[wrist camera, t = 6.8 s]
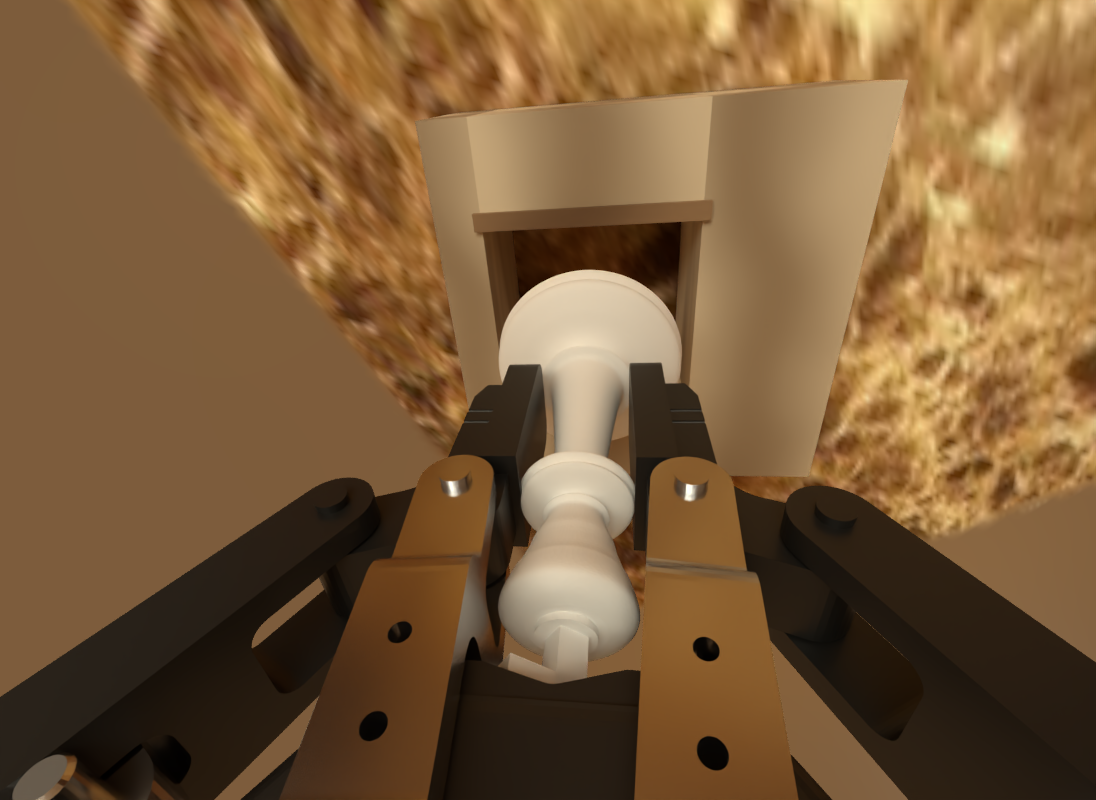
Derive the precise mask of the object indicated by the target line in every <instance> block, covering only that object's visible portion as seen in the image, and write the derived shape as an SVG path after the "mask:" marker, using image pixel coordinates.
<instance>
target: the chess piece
mask: <svg viewBox="0 0 1096 800" xmlns="http://www.w3.org/2000/svg"><path fill="white" fill-rule="evenodd" d="M681 360H682V344H681V338H680V334H679V330H678V327H677V324H676V322H675V320H674V318H673V316H672V314H671V313H670V311H669V309H668V308H667V307H666V305H665V304H664V303H663V302H662V301H661V299H660V298H659V297H658V296H657V295H655V294H654V293H653V292H652V291H651V290H650V289H648V288H647V287H645V286H644V285H642V284H641V283H639V282H637V281H635V280H633V279H631V278H629V277H626V276H623V275H620V274H617V273H613V272H608V271H602V270H578V271H572V272H567V273H563V274H559V275H556V276H554V277H551V278H549V279H547V280H545V281H543V282H541V283H539V284H538V285H536V286H535V287H533V288H532V289H531V290H529V291H528V292H527V293H526V294H525V295H524V296H523V297H522V298H521V299H520V300H519V301H518V302H517V303H516V305H515V306H514V307H513V309H512V310H511V312H510V314H509V316H508V317H507V319H506V322H505V324H504V327H503V330H502V334H501V339H500V349H499V371H500V376H501V380H502V383H503V381H504V378H505V375H506V372H507V369H508V367H509V365H515V364H540V365H541V368H542V375H543V386H544V397H545V408H546V420H547V433H549V434H552V435H554V454H551V455H548V456H546V457H544V458H542V459H540V460H538V461H537V462H536V463H534V464H533V465H532V466H531V467H530V468H529V469H528V470H527V471H526V473H525V474H524V476H523V478H522V480H521V489H522V494H521V508H522V512H523V514H524V516H525V518H526V520H527V522H528V523H529V524H530V525H531V527H532V528H533V529H535V530H536V531H537V532H536V534H535V536H534V538H533V540H532V542H531V544H530V546H529V548H528V549H527V551H526V553H525V554H524V556H523V557H522V558H521V559H520V560H519V562H518V563H517V564H516V566H515V567H514V568H513V570H512V572H511V573H510V575H509V577H508V578H507V580H506V582H505V584H504V586H503V588H502V590H501V593H500V596H499V601H498V612H499V617H500V620H501V622H502V624H503V626H504V628H505V629H506V631H507V632H508V633H509V634H510V635H511V637H512V638H513V639H514V640H515V641H516V642H518V643H519V644H520V645H522V646H523V647H524V648H526V649H528V650H529V651H531V652H533V653H536V654H538V655H540V656H543V661H542V665H539V664H537V663H534V662H532V661H529V660H527V659H524V658H522V657H520V656H517V655H515V654H512V653H510V654H509V655H508V656H507V657H506V658H505V659H504V660H503V661H502V662H501V663H500V664H499V665H498V667H501V668H504V669H507V670H510V671H513V672H515V673H518V674H521V675H524V676H527V677H530V678H533V679H536V680H539V681H541V682H545V683H549V684H558V683H563V682H569V681H574V680H579V679H584V678H587V665H588V661H594V660H598V659H602V658H605V657H608V656H610V655H612V654H614V653H616V652H618V651H619V650H621V649H622V648H624V647H625V646H626V645H627V644H628V643H629V642H630V641H631V640H632V639H633V637H634V636H635V634H636V632H637V630H638V627H639V622H640V609H639V604H638V601H637V597H636V595H635V592H634V589H633V587H632V584H631V582H630V579H629V577H628V575H627V573H626V572H625V570H624V569H623V567H622V565H621V562H620V560H619V558H618V555H617V552H616V548H615V544H614V542H613V540H612V539H614V538H616V537H617V536H619V535H620V534H621V533H622V532H623V531H624V530H625V529H626V528H627V527H628V525H629V524H630V522H631V520H632V517H633V514H634V511H635V485H634V482H633V480H632V479H631V477H630V476H629V474H628V473H627V472H626V471H625V470H624V469H623V468H622V467H621V466H620V465H618V464H617V463H615V462H614V461H612V460H611V459H609V458H608V455H609V449H610V445H611V440H615V439H619V438H622V437H625V436H628V435H629V364H630V363H657V362H661V363H662V368H663V373H664V379H665V383H678V382H679V378H680V373H681Z"/></svg>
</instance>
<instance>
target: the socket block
mask: <svg viewBox="0 0 1096 800" xmlns="http://www.w3.org/2000/svg"><path fill="white" fill-rule="evenodd" d="M907 82H908V80H852V81H826V82H815V83H803V84H791V85H779V86H768V87H756V88H744V89H732V90H721V91H709V92H697V93H685V94H673V95H662V96H650V97H638V98H626V99H615V100H603V101H591V102H579V103H568V104H556V105H544V106H532V107H520V108H509V109H497V110H485V111H473V112H462V113H455V114H450V115H444V116H439V117H434V118H429V119H424V120H418V121H415V124H416V129H417V135H418V140H419V145H420V151H421V156H422V162H423V167H424V172H425V178H426V183H427V188H428V194H429V199H430V204H431V210H432V215H433V220H434V226H435V231H436V236H437V242H438V247H439V252H440V258H441V263H442V268H443V274H444V279H445V284H446V290H447V295H448V300H449V306H450V311H451V316H452V322H453V327H454V332H455V338H456V343H457V348H458V354H459V359H460V364H461V370H462V375H463V380H464V386H465V391H466V396H467V402H468V407H469V408H470V406H471V403H472V401H473V399H474V397H475V396H476V395H477V394H478V393H479V392H480V391H482V390H483V389H484V388H485V387H486V386H487V385H502V380H501V376H500V371H499V349H500V339H501V334H502V330H503V327H504V324H505V322H506V319H507V317H508V316H509V314H510V312H511V310H512V309H513V307H514V306H515V305H516V303H517V302H518V301H519V300H520V295H519V286H518V277H517V268H516V259H515V250H514V241H513V232H512V231H514V230H533V229H552V228H571V227H590V226H609V225H628V224H647V223H666V222H681V238H680V255H679V271H678V288H677V305H676V324H677V327H678V330H679V334H680V338H681V344H682V360H681V373H680V378H679V382H678V383H685V384H686V385H688V386H689V387H690V388H691V389H692V390H693V391H694V392H695V393H696V394H697V395H698V397H699V401H700V405H701V408H702V412H703V415H704V419H705V423H706V426H707V430H708V433H709V437H710V441H711V444H712V448H713V451H714V455H715V459H716V462H717V465H718V466H720V467H721V468H723V469H724V470H725V471H726V472H727V473H728V474H729V475H730V476H777V477H809V473H810V469H811V465H812V461H813V457H814V453H815V449H816V445H817V441H818V437H819V433H820V429H821V425H822V421H823V417H824V413H825V409H826V405H827V401H828V397H829V394H830V390H831V386H832V382H833V378H834V374H835V370H836V366H837V362H838V358H839V354H840V350H841V346H842V342H843V338H844V334H845V330H846V326H847V322H848V318H849V314H850V310H851V306H852V302H853V298H854V294H855V290H856V286H857V282H858V278H859V274H860V270H861V266H862V262H863V258H864V254H865V250H866V246H867V242H868V238H869V234H870V230H871V226H872V222H873V218H874V214H875V210H876V206H877V202H878V198H879V194H880V190H881V186H882V182H883V178H884V174H885V170H886V166H887V162H888V158H889V154H890V150H891V146H892V142H893V138H894V134H895V130H896V126H897V122H898V118H899V114H900V110H901V106H902V102H903V98H904V94H905V90H906V86H907ZM551 454H554V435H552V434H549V433H547V438H546V447H545V452H544V457H546V456H548V455H551ZM608 458H609V459H611V460H612V461H614V462H615V463H617V464H618V465H620V466H621V467H622V468H623V469H624V470H625V471H626V472H627V473H628V474H629V475H630V458H629V435H628V436H625V437H622V438H619V439H615V440H611V445H610V449H609V455H608Z"/></svg>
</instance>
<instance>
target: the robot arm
mask: <svg viewBox="0 0 1096 800" xmlns="http://www.w3.org/2000/svg"><path fill="white" fill-rule="evenodd" d="M546 438H547V420H546V408H545V397H544V386H543V375H542V368H541V365H540V364H515V365H509V367H508V369H507V372H506V375H505V378H504V381H503V383H502V385H487V386H486V387H485V388H484V389H483V390H482V391H480V392H479V393H478V394H477V395H476V396H475V397H474V399H473V401H472V403H471V406H470V408H469V412H468V413H467V415H466V417H465V420H464V423H463V424H462V427H461V429H460V431H459V433H458V436H457V438H456V440H455V443H454V445H453V447H452V450H451V452H450V454H449V456H448V457H447V458H444V459H442V460H439V461H437V462H435V463H434V464H432V465H431V466H429V467H428V468H427V469H426V470H425V471H424V472H423V473H422V475H421V476H420V478H419V480H418V483H417V486H416V487H415V488H412V489H409V490H405V491H401V492H396V493H392V494H387V495H383V496H377V497H375V495H374V492H373V489H372V487H371V486H370V485H369V483H367V482H366V481H364V480H361V479H358V478H340V479H335V480H331V481H328V482H325V483H323V484H320V485H318V486H316V487H315V488H313V489H311V490H310V491H308V492H307V493H305V494H304V495H302V496H301V497H299V498H298V499H296V500H295V501H293V502H292V503H290V504H289V505H287V506H286V507H284V508H283V509H281V510H280V511H278V512H277V513H275V514H274V515H272V516H271V517H269V518H268V519H266V520H265V521H263V522H262V523H261V524H259V525H257V526H256V527H254V528H253V529H251V530H250V531H248V532H247V533H245V534H244V535H242V536H241V537H239V538H238V539H237V540H235V541H233V542H232V543H230V544H229V545H227V546H226V547H224V548H223V549H221V550H220V551H218V552H217V553H215V554H214V555H212V556H211V557H209V558H208V559H206V560H205V561H203V562H202V563H200V564H199V565H197V566H196V567H194V568H193V569H191V570H190V571H188V572H187V573H185V574H184V575H182V576H181V577H179V578H178V579H176V580H175V581H173V582H172V583H170V584H169V585H167V586H166V587H164V588H163V589H161V590H160V591H158V592H157V593H155V594H154V595H152V596H151V597H149V598H148V599H146V600H145V601H143V602H142V603H140V604H139V605H137V606H136V607H134V608H133V609H132V610H130V611H129V612H127V613H125V614H124V615H122V616H121V617H119V618H118V619H116V620H115V621H113V622H112V623H110V624H109V625H108V626H106V627H104V628H103V629H101V630H100V631H98V632H97V633H95V634H94V635H93V636H91V637H89V638H88V639H86V640H85V641H83V642H82V643H80V644H79V645H77V646H76V647H75V648H73V649H72V650H70V651H68V652H67V653H66V654H64V655H62V656H61V657H60V658H58V659H57V660H55V661H53V662H52V663H51V664H49V665H47V666H46V667H45V668H43V669H41V670H40V671H38V672H37V673H35V674H34V675H32V676H31V677H30V678H28V679H26V680H25V681H23V682H22V683H20V684H19V685H17V686H16V687H15V688H13V689H12V690H10V691H9V692H7V693H6V694H4V695H3V696H1V697H0V800H214V799H215V798H216V797H217V796H218V795H219V794H220V793H221V792H222V791H223V790H224V789H225V788H226V787H227V786H228V785H229V784H230V783H231V782H232V781H233V780H234V779H235V778H236V777H237V776H238V775H240V773H242V772H243V771H244V769H246V767H248V766H249V765H250V764H251V763H252V761H254V759H256V758H257V756H259V755H260V753H262V752H263V751H264V750H265V749H266V748H267V747H268V746H269V745H270V744H271V743H272V742H273V741H274V740H275V739H276V738H277V737H278V736H279V735H280V734H281V733H282V732H283V731H284V730H285V729H286V728H287V727H288V726H289V724H291V723H292V722H293V721H294V720H295V719H296V718H297V717H298V716H299V715H300V714H301V713H302V712H303V711H304V710H305V709H306V708H307V707H308V706H309V705H310V704H311V703H312V702H313V701H314V700H315V699H316V698H317V697H318V696H319V698H318V700H317V703H316V705H315V708H314V710H313V713H312V716H311V719H310V721H309V723H308V726H307V729H306V731H305V734H304V736H303V739H302V741H301V744H300V747H299V749H298V750H296V751H295V752H294V753H293V754H292V755H291V756H290V757H288V758H287V759H286V760H285V761H284V762H283V763H282V764H281V765H279V766H278V767H277V768H276V769H275V770H274V771H273V772H272V773H270V775H268V776H267V777H266V778H265V779H263V780H262V782H260V783H259V784H258V785H257V786H256V787H254V788H253V789H252V790H251V791H250V792H249V793H248V794H246V795H245V796H244V797H243V798H242V799H241V800H832V799H831V798H830V797H829V796H828V795H827V794H826V793H825V791H824V790H823V789H822V788H821V787H820V786H819V785H818V784H817V783H816V781H815V780H814V779H813V778H812V777H811V776H810V775H809V774H808V772H806V770H805V769H804V768H803V767H802V766H801V765H800V764H799V763H798V761H796V759H795V758H794V757H793V756H792V755H791V754H790V749H789V743H788V737H787V732H786V726H785V721H784V716H783V709H782V704H781V698H780V692H779V687H778V681H777V676H776V670H775V665H774V659H773V653H772V648H771V642H770V640H771V641H772V643H773V644H774V645H775V646H776V647H777V648H778V650H779V651H780V652H781V653H782V654H783V655H784V657H785V658H786V659H787V660H788V661H789V662H790V663H791V665H792V666H793V667H794V668H795V669H796V670H797V672H798V673H799V674H800V675H801V676H802V677H803V678H804V680H805V681H806V682H807V683H808V684H809V685H810V686H811V688H812V689H813V690H814V691H815V692H816V694H817V695H818V696H819V697H820V698H821V699H822V700H823V702H824V703H825V704H826V705H827V706H828V707H829V709H830V710H831V711H832V712H833V713H834V714H835V715H836V717H837V718H838V719H839V720H840V721H841V722H842V724H843V725H844V726H845V727H846V728H847V729H848V730H849V732H850V733H851V734H852V735H853V736H854V737H855V738H856V740H857V741H858V742H859V743H860V744H861V745H862V746H863V748H864V749H865V750H866V751H867V752H868V753H869V754H870V756H871V757H872V758H873V759H874V760H875V762H876V763H877V764H878V765H879V766H880V767H881V769H882V770H883V771H884V772H885V773H886V774H887V775H888V777H889V778H890V779H891V780H892V781H893V782H894V783H895V785H896V786H897V787H898V788H899V789H900V790H901V792H902V793H903V794H904V795H905V796H906V797H907V799H908V800H1096V662H1094V661H1093V660H1091V659H1090V658H1089V657H1087V656H1086V655H1084V654H1083V653H1082V652H1080V651H1079V650H1077V649H1076V648H1075V647H1073V646H1072V645H1070V644H1069V643H1067V642H1066V641H1065V640H1063V639H1062V638H1060V637H1059V636H1057V635H1056V634H1055V633H1053V632H1052V631H1050V630H1049V629H1048V628H1046V627H1045V626H1043V625H1042V624H1040V623H1039V622H1038V621H1036V620H1034V619H1033V618H1032V617H1031V616H1029V615H1028V614H1026V613H1025V612H1023V611H1022V610H1021V609H1019V608H1018V607H1016V606H1015V605H1013V604H1012V603H1011V602H1009V601H1008V600H1006V599H1005V598H1004V597H1002V596H1001V595H999V594H998V593H996V592H995V591H994V590H992V589H991V588H989V587H988V586H986V585H985V584H984V583H982V582H981V581H979V580H978V579H977V578H975V577H974V576H972V575H971V574H969V573H968V572H967V571H965V570H964V569H962V568H961V567H960V566H958V565H957V564H955V563H954V562H952V561H951V560H950V559H948V558H947V557H945V556H944V555H942V554H941V553H940V552H938V551H937V550H935V549H934V548H933V547H931V546H930V545H928V544H927V543H926V542H924V541H923V540H921V539H920V538H918V537H917V536H916V535H914V534H913V533H911V532H910V531H909V530H907V529H906V528H904V527H903V526H901V525H900V524H899V523H897V522H896V521H894V520H893V519H891V518H890V517H889V516H887V515H886V514H884V513H883V512H882V511H880V510H879V509H877V508H876V507H874V506H873V505H872V504H870V503H869V502H867V501H866V500H864V499H863V498H861V497H859V496H857V495H855V494H853V493H850V492H848V491H845V490H842V489H838V488H834V487H829V486H809V487H804V488H801V489H798V490H796V491H795V492H793V493H792V494H791V495H790V496H789V498H788V499H787V502H786V503H782V502H778V501H774V500H770V499H765V498H761V497H758V496H754V495H751V494H749V493H746V492H744V491H742V490H740V489H738V488H737V487H735V486H734V485H733V481H732V479H731V477H730V475H729V474H728V473H727V472H726V471H725V470H724V469H723V468H721V467H720V466H718V465H717V462H716V459H715V455H714V451H713V448H712V444H711V441H710V437H709V433H708V430H707V426H706V423H705V419H704V415H703V412H702V408H701V405H700V401H699V397H698V395H697V394H696V393H695V392H694V391H693V390H692V389H691V388H690V387H689V386H688V385H686V384H685V383H665V379H664V373H663V368H662V363H661V362H657V363H630V364H629V458H630V477H631V479H632V480H633V482H634V485H635V511H634V514H633V517H632V520H633V540H634V550H643V551H646V574H645V594H644V614H643V635H642V655H641V671H635V670H624V671H619V672H614V673H609V674H604V675H599V676H594V677H589V678H584V679H579V680H574V681H569V682H563V683H558V684H549V683H545V682H541V681H539V680H536V679H533V678H530V677H527V676H524V675H521V674H518V673H515V672H513V671H510V670H507V669H504V668H501V667H498V665H499V664H500V663H501V662H502V661H503V653H504V642H505V630H506V629H505V628H504V626H503V624H502V622H501V620H500V617H499V612H498V601H499V596H500V593H501V590H502V588H503V586H504V584H505V582H506V580H507V578H508V577H509V575H510V569H509V563H510V558H511V554H512V549H513V546H523V547H528V542H529V536H530V531H531V525H530V524H529V523H528V522H527V520H526V518H525V516H524V514H523V512H522V508H521V494H522V489H521V480H522V478H523V476H524V474H525V473H526V471H527V470H528V469H529V468H530V467H531V466H532V465H533V464H534V463H536V462H537V461H538V460H540V459H542V458H544V452H545V447H546ZM318 578H319V579H320V581H321V583H322V585H323V587H324V590H323V591H322V592H321V593H320V594H319V595H317V596H316V597H315V598H314V599H313V600H311V601H310V602H309V603H308V604H307V605H305V606H304V607H303V608H302V609H301V610H299V611H298V612H297V613H296V614H295V615H293V616H292V617H291V618H290V619H289V620H287V621H286V622H285V623H284V624H283V625H281V626H280V627H279V628H278V629H277V630H276V631H274V632H273V633H272V634H271V635H270V636H268V637H267V638H266V639H265V640H264V641H263V642H261V643H260V644H259V645H257V646H256V647H254V648H251V646H252V640H253V637H254V635H255V633H256V631H257V630H258V629H259V627H260V626H261V625H262V624H263V623H264V622H265V621H266V620H267V619H268V618H269V617H270V616H272V615H273V614H274V613H275V612H277V611H278V610H279V609H281V608H282V607H283V606H284V605H285V604H286V603H288V602H289V601H290V600H291V599H293V598H294V597H295V596H296V595H298V594H299V593H300V592H301V591H303V590H304V589H305V588H306V587H307V586H309V585H310V584H311V583H312V582H314V581H315V580H316V579H318ZM856 612H857V613H858V614H859V615H860V616H861V617H860V616H859V615H858V614H857V613H856ZM866 621H867V622H868V623H869V624H870V625H871V626H872V627H873V628H874V629H873V628H872V627H871V626H870V625H869V624H868V623H867V622H866ZM879 633H880V634H881V635H882V636H883V637H884V638H885V639H886V640H885V639H884V638H883V637H882V636H881V635H880V634H879ZM889 642H890V643H889ZM892 645H893V646H894V647H895V648H896V649H897V650H898V651H899V652H898V651H897V650H896V649H895V648H894V647H893V646H892Z"/></svg>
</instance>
